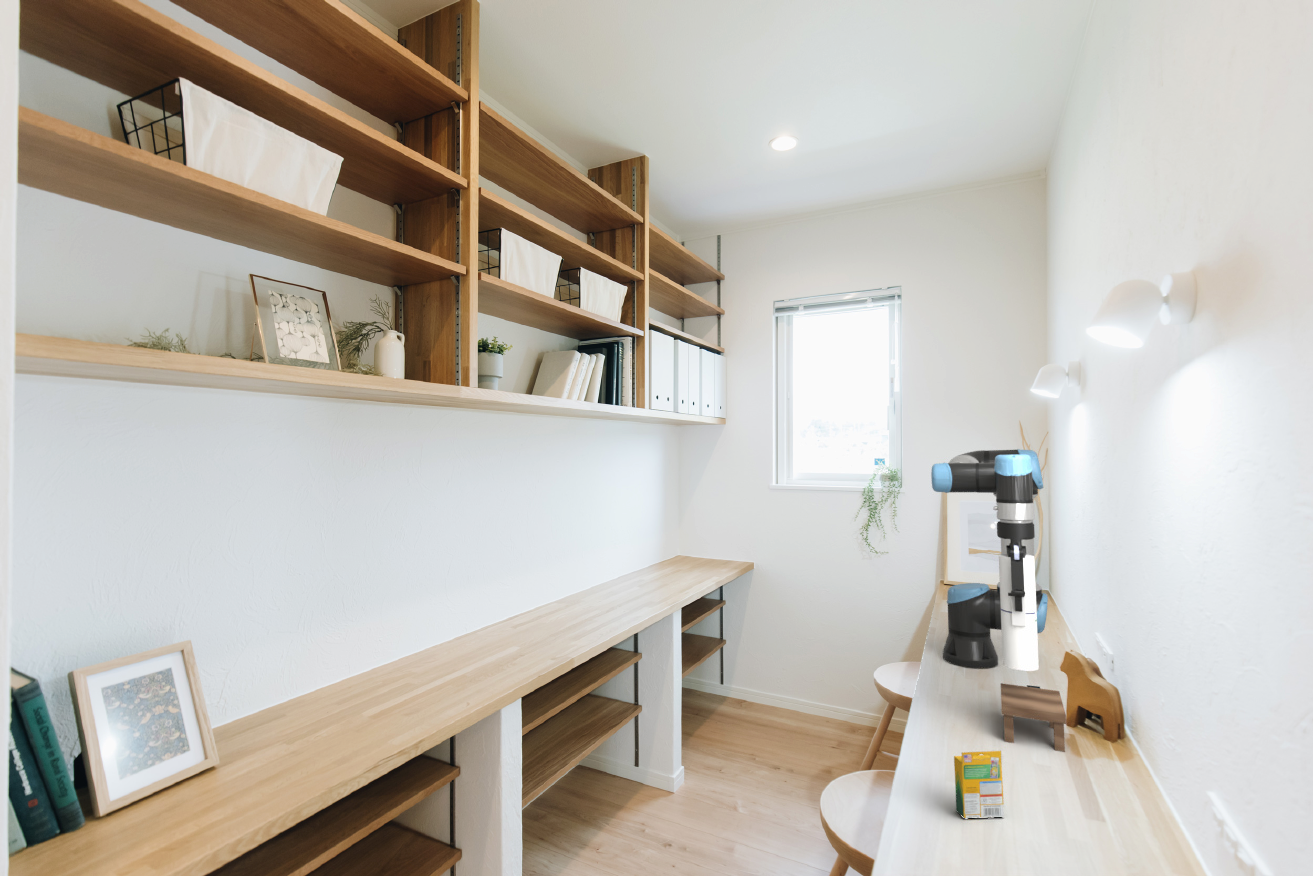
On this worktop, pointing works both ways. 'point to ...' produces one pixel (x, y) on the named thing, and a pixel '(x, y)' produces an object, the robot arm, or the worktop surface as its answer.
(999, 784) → the crayon box
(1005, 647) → the cylindrical container
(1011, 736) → the brown flat-topped stand
